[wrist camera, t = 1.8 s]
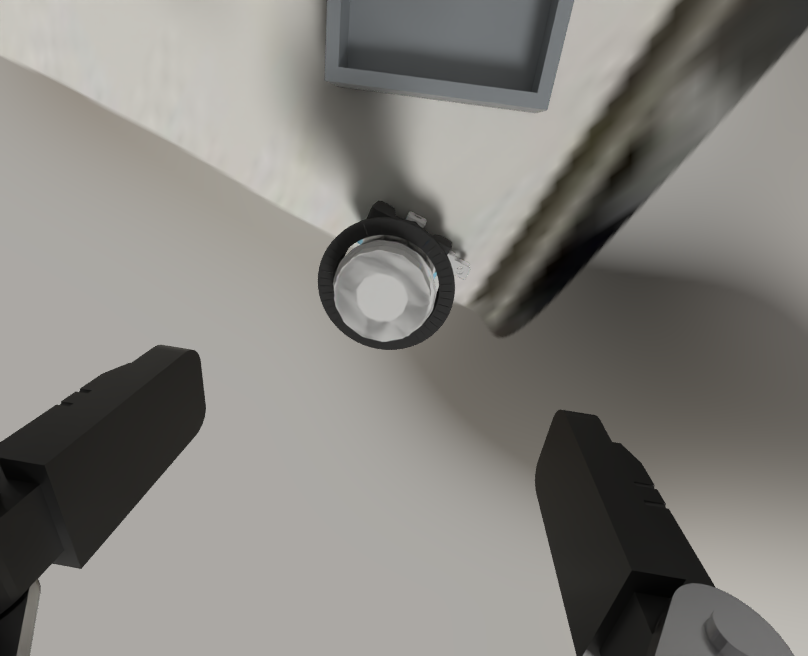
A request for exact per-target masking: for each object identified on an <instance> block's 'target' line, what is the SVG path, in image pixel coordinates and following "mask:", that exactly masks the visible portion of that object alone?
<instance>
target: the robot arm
mask: <svg viewBox="0 0 808 656" xmlns="http://www.w3.org/2000/svg"><path fill="white" fill-rule="evenodd" d="M205 411H206V404H205V396H204V388H203V378H202V369H201V361H200V357H199V354H198V353H197V352H196V351H195V350H190V349H183V348H178V347H171V346H165V345H157V346H155V347H153V348H152V349H151V350H149V351H148V352H146V353H145V354H143V355H142V356H140V357H139V358H138V359H136V360H135V361H134V362H132V363H128V364H126V365H123V366H120V367H118V368H115V369H113V370H110V371H108V372H105V373H103V374H101V375H100V376H98V377H97V378H95V379H94V380H92V381H91V382H90V383H88V384H86V385H85V386H84V387H82V388H81V389H80V391H79V392H75V393H73V394H72V395H70V396H68V397H67V398H66V399H64V400H63V401H61V404H60V405H55V406H54V407H52V408H51V409H49V410H48V411H46V412H45V413H43V414H42V415H40V416H39V417H37V418H36V419H35V420H33V421H31V422H30V423H28V424H27V425H25V426H24V427H23V428H21V429H19V430H18V431H16V432H15V433H14V434H12V435H11V436H9V437H8V438H6V439H5V440H3V441H2V442H0V656H30V652H31V646H32V640H33V634H34V628H35V621H36V616H37V609H38V604H39V597H40V591H41V586H40V582H39V580H38V578H39V577H40V576H41V575H42V574H43V573H44V571H45V570H46V569H47V568H48V567H49V566H50V565H51V564H58V565H63V566H69V567H74V568H79V569H82V567H83V566H84V565H85V564H86V563H87V562H88V560H89V559H90V558H91V557H92V556H93V555H94V553H95V552H96V551H97V550H98V549H99V548H100V546H101V545H102V544H103V543H104V542H105V541H106V539H107V538H108V537H109V536H110V535H111V534H112V532H113V531H114V530H115V529H116V528H117V526H118V525H119V524H120V523H121V522H122V521H123V520H124V518H125V517H126V516H127V515H128V514H129V513H130V511H131V510H132V509H133V508H134V507H135V505H136V504H137V503H138V502H139V501H140V500H141V499H142V497H143V496H144V495H145V494H146V493H147V491H148V490H149V489H150V488H151V487H152V486H153V485H154V483H155V482H156V481H157V480H158V479H159V478H160V476H161V475H162V474H163V473H164V472H165V471H166V469H167V468H168V467H169V466H170V465H171V464H172V463H173V461H174V460H175V459H176V458H177V456H178V455H179V454H180V453H181V452H182V451H183V450H184V448H185V447H186V446H187V445H188V444H189V443H190V442H191V440H192V439H193V438H194V437H195V436H196V434H197V433H198V432H199V430H200V428H201V426H202V424H203V421H204V417H205ZM535 487H536V494H537V498H538V502H539V506H540V510H541V514H542V518H543V522H544V526H545V530H546V534H547V538H548V542H549V546H550V550H551V554H552V558H553V562H554V566H555V570H556V574H557V578H558V583H559V587H560V591H561V595H562V599H563V603H564V607H565V610H566V614H567V619H568V623H569V627H570V631H571V635H572V639H573V643H574V647H575V651H576V655H577V656H794V655H793V653H792V651H791V650H790V648H789V647H788V645H787V644H786V643H785V642H784V640H783V639H782V638H781V636H780V635H779V634H778V633H777V632H776V631H775V630H774V628H773V627H772V626H771V625H770V624H769V623H768V622H767V621H766V620H765V619H764V618H762V617H761V616H760V615H759V614H758V613H757V612H755V611H754V610H753V609H752V608H750V607H749V606H748V605H746V604H745V603H743V602H742V601H740V600H739V599H737V598H736V597H734V596H732V595H730V594H728V593H726V592H724V591H722V590H720V589H718V588H716V587H715V586H714V584H713V583H712V581H711V579H710V577H709V576H708V574H707V572H706V571H705V569H704V567H703V565H702V564H701V562H700V561H699V559H698V558H697V555H696V554H695V552H694V550H693V549H692V547H691V546H690V544H689V542H688V540H687V539H686V537H685V535H684V534H683V532H682V530H681V529H680V527H679V526H678V524H677V522H676V520H675V519H674V517H673V515H672V514H671V512H670V510H669V509H666V507H665V505H666V503H665V502H664V500H663V499H662V497H661V495H660V493H659V492H658V490H657V489H654V484H653V482H652V480H651V478H650V477H649V475H648V473H647V472H646V470H645V468H644V467H643V465H642V463H641V462H640V461H638V460H637V458H635V457H634V456H633V455H632V454H631V453H630V452H629V451H628V450H627V449H626V448H625V447H624V446H623V445H622V444H621V443H614V442H612V441H611V439H610V437H609V436H608V434H607V432H606V430H605V428H604V426H603V424H602V423H601V421H600V419H599V418H598V417H597V416H596V415H591V414H584V413H578V412H572V411H565V410H558V411H557V412H556V413H555V415H554V417H553V420H552V423H551V426H550V428H549V431H548V434H547V437H546V440H545V443H544V446H543V448H542V451H541V454H540V457H539V460H538V463H537V467H536V474H535Z"/></svg>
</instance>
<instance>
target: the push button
mask: <svg viewBox="0 0 808 656" xmlns="http://www.w3.org/2000/svg"><path fill="white" fill-rule="evenodd" d="M417 217H418V218H417ZM419 218H420V219H419ZM426 221H427V220H426V219H425V218H423V217H421V216H419V215H417V214H415V213H413V212H411V211H410V212H409V214H408V215H407V218H406V219H401V218H399V217H397V216H396V214H395V210H394V208H393V207H392V206H390V205H388V204H386V203H385V202H382V201H378V202H376V203H375V204H374V205H373V206H372V208H371V210H370V213H369V215H368V217H367V219H366V220H363V221H360V222H358V223H355V224H353V225H352V226H350V227H348V228H347V229H345V230H344V231H343V232H341V233H340V234H339V235H338V236H337V237H336V238H335V239H334V240H333V241H332V242H331V244H330V245H329V247H328V248H327V250H326V251H325V253H324V255H323V258H322V260H321V263H320V267H319V273H318V289H319V295H320V299H321V302H322V304H323V307H324V309H325V311H326V313H327V314H328V316H329V318H330V319H331V321H332V322H333V323H334V324H335V325H336V326H337V328H339V330H341V331H342V332H343V333H344V334H345V335H347V336H348V337H350V338H351V339H353V340H355V341H356V342H358V343H361V344H363V345H366V346H369V347H372V348H377V349H384V350H396V349H403V348H407V347H411V346H414V345H416V344H419V343H421V342H423V341H424V340H426V339H428V338H429V337H430V336H432V335H433V334H434V333H435V332H436V331H437V330H438V329H439V328H440V327H441V326H442V325H443V323H444V322H445V320H446V318H447V317H448V315H449V313H450V310H451V308H452V304H453V300H454V294H455V282H454V275H455V276H457V277H459V278H461V279H463V280H464V279H466V277H467V275H468V274H469V272H470V270H471V269H470V267H469V266H470V264H469V263H468V262H466V261H464V260H462V259H460V258H458V257H457V256H455V253H454V252H453V251H451V248H452V243H451V241H449V240H448V239H446V238H444V237H442V236H439V235H432V234H430V233H428V232H427V231H426V230H424V227H425V225H426ZM356 242H358V243H359V244H360V245H359V246H357V247H355V248H354V249H352V250H351V251H350V252H349V253H348V254H347V255H346V256H345V254H346V252H347V250H348V248H349V247H350V246H352V245H353V244H354V243H356ZM459 267H462V269H458V268H459ZM457 272H458V273H457ZM459 273H460V274H459ZM436 275H437V276H438V280H439V288H438V291H437V294H436V286H435V282H434V278H435V277H436Z"/></svg>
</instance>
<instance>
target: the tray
mask: <svg viewBox="0 0 808 656" xmlns="http://www.w3.org/2000/svg"><path fill="white" fill-rule="evenodd" d="M573 3H574V0H327V20H326V53H325V81H327V82H329V83H331V84H333V85H335V86H337V87H344V88H351V89H359V90H366V91H374V92H381V93H389V94H396V95H404V96H411V97H419V98H426V99H434V100H441V101H449V102H456V103H464V104H471V105H479V106H486V107H494V108H501V109H509V110H516V111H524V112H531V113H538V112H542V111H546V110H547V109H548V105H549V101H550V97H551V93H552V89H553V85H554V80H555V76H556V72H557V68H558V64H559V60H560V56H561V52H562V48H563V44H564V40H565V36H566V32H567V27H568V23H569V19H570V15H571V11H572V7H573Z"/></svg>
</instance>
